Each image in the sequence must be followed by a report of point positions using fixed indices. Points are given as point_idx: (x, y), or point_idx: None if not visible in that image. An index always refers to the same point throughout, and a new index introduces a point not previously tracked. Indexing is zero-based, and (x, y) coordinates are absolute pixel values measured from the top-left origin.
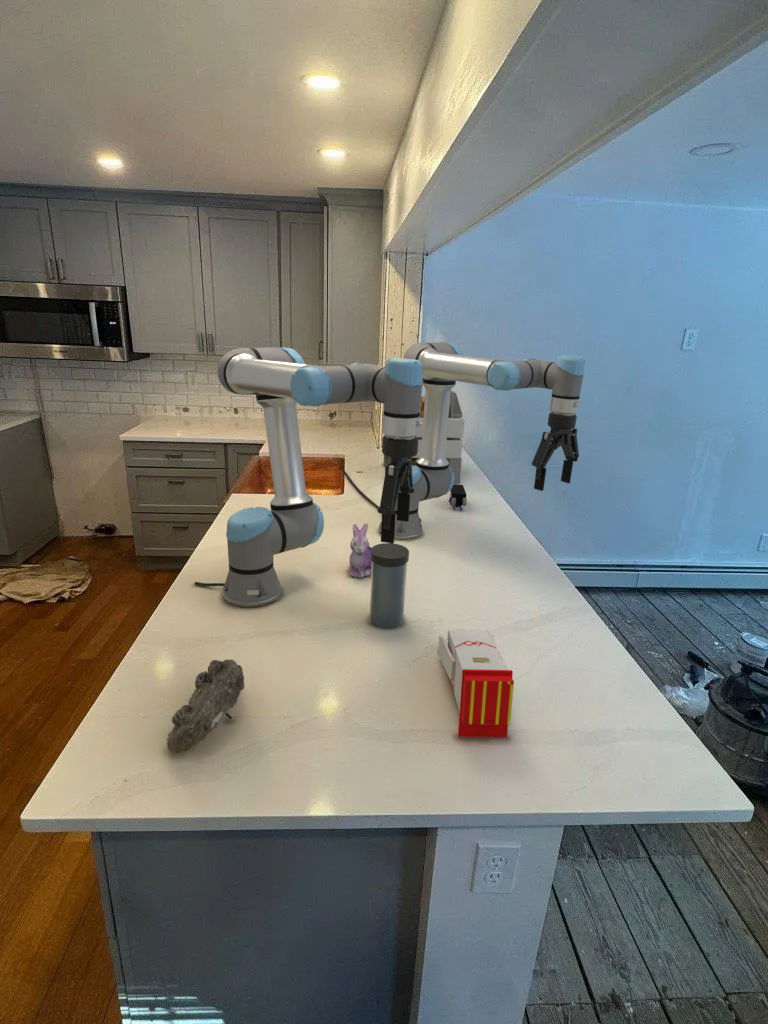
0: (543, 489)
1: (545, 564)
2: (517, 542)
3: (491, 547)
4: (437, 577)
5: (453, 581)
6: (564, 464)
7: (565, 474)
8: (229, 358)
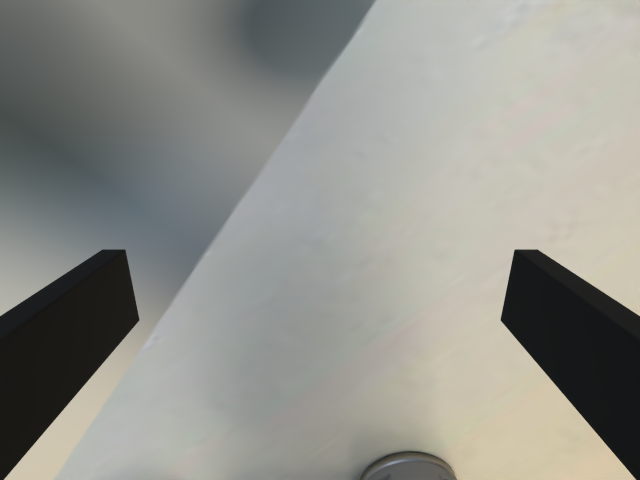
0: (521, 252)
1: (258, 186)
2: (206, 317)
3: (295, 334)
4: None
5: None
6: (20, 439)
7: (91, 328)
8: None
